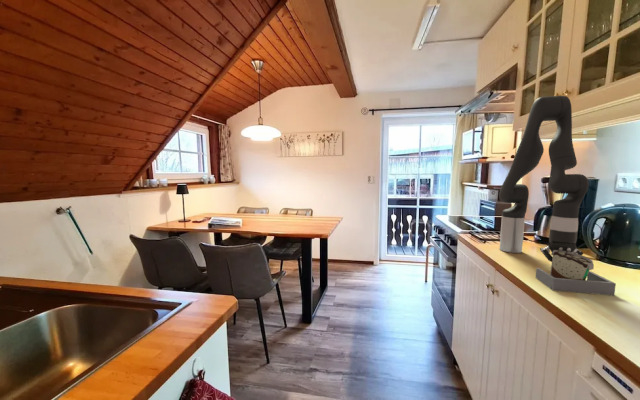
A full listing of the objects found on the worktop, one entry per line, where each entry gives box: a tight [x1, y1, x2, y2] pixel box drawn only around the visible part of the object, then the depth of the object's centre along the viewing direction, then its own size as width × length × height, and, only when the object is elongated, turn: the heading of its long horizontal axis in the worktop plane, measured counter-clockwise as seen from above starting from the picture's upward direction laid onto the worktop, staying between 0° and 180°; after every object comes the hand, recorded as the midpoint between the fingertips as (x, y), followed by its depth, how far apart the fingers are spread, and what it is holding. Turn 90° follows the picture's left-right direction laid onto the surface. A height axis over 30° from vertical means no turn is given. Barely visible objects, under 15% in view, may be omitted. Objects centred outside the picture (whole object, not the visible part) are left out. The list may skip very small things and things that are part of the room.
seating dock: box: [535, 267, 616, 296], centre depth 93 cm, size 10×17×4 cm, turn 77°
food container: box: [549, 250, 595, 280], centre depth 94 cm, size 12×6×10 cm, turn 11°
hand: (558, 273), depth 100 cm, fingers closed
